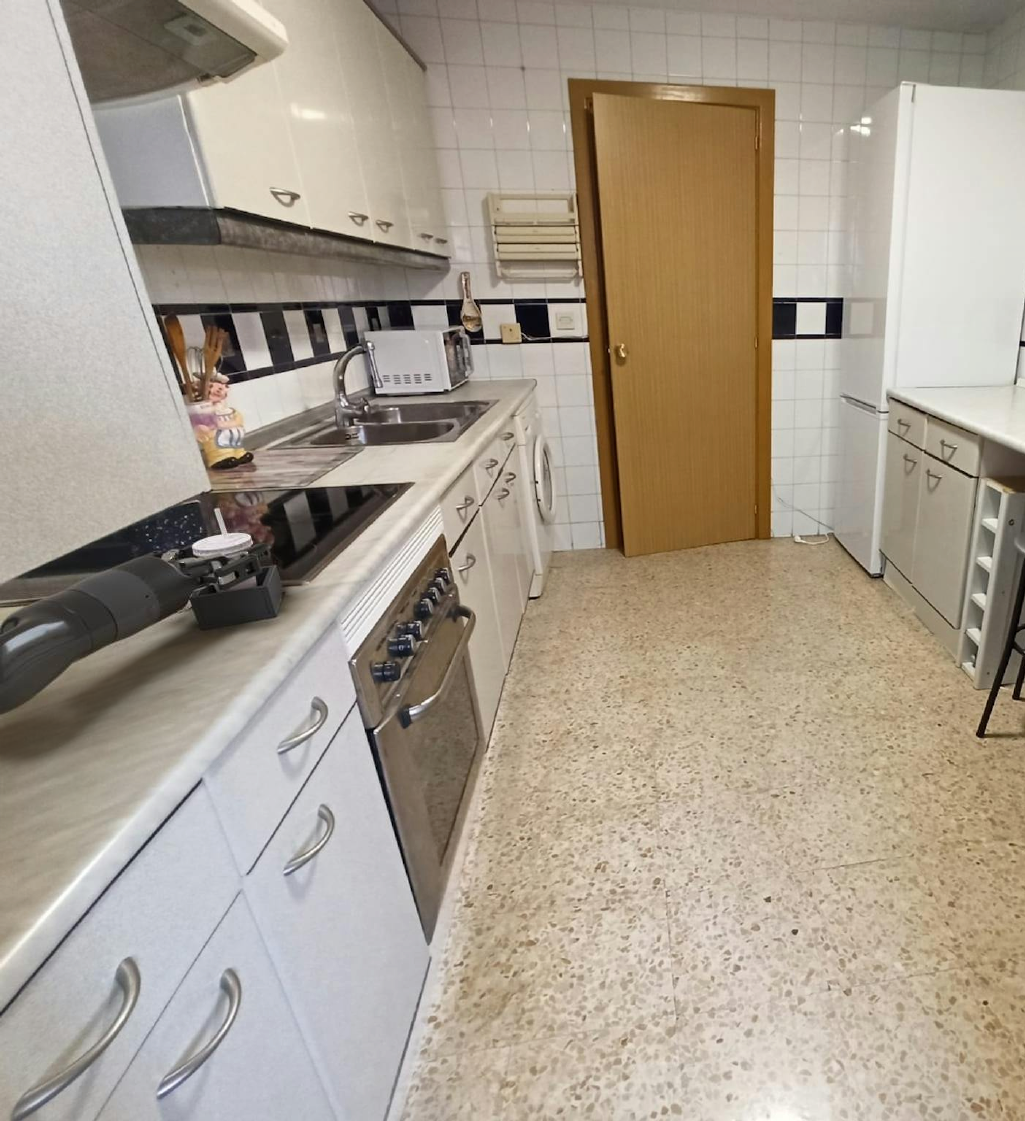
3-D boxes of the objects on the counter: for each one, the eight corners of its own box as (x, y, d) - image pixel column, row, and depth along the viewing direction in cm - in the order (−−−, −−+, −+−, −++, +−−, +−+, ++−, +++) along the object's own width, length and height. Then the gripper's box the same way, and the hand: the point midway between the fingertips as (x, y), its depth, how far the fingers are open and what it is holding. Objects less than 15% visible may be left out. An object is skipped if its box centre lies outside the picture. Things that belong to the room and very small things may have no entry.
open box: (200, 630, 85) (188, 598, 83) (214, 604, 92) (203, 575, 90) (276, 617, 89) (267, 586, 87) (284, 593, 96) (276, 564, 94)
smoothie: (271, 608, 89) (240, 511, 84) (212, 621, 86) (176, 521, 80) (271, 592, 94) (242, 499, 89) (215, 603, 91) (182, 507, 85)
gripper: (172, 572, 72) (279, 523, 87) (52, 568, 73) (178, 520, 88) (194, 631, 75) (294, 574, 90) (78, 627, 76) (196, 571, 91)
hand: (237, 548), depth 89 cm, fingers open, 8 cm apart
